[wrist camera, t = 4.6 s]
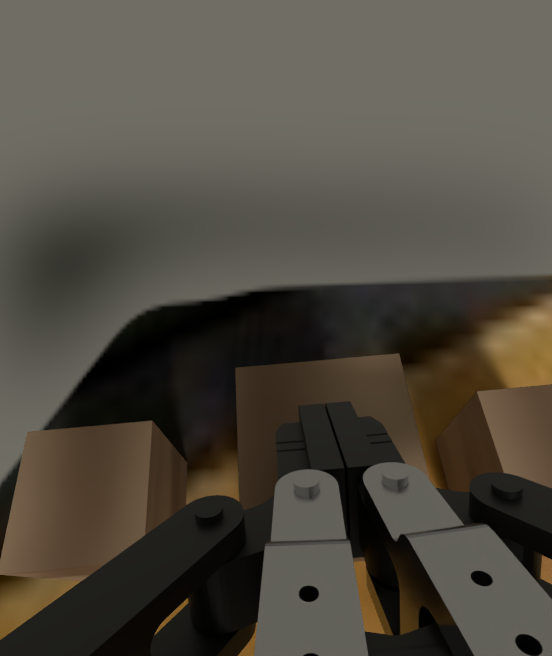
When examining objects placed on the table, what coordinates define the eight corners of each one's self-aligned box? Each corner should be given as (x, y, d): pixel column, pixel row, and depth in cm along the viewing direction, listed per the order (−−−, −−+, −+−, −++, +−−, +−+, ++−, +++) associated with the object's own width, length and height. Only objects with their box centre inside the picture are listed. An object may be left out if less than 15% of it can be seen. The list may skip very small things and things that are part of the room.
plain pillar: (363, 441, 24) (399, 353, 15) (383, 559, 21) (442, 532, 12) (258, 450, 24) (235, 367, 15) (265, 569, 21) (241, 549, 12)
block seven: (187, 457, 24) (152, 414, 18) (184, 571, 21) (143, 560, 15) (92, 466, 24) (28, 425, 18) (77, 581, 21) (-3, 574, 15)
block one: (528, 426, 24) (598, 373, 18) (570, 535, 21) (667, 513, 15) (433, 435, 24) (474, 385, 18) (463, 545, 21) (521, 526, 15)
